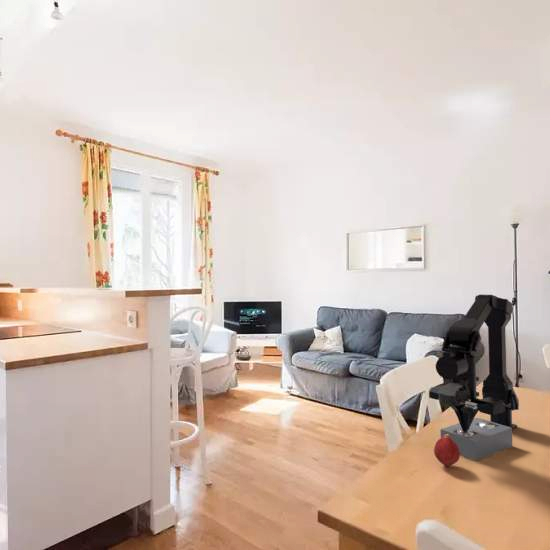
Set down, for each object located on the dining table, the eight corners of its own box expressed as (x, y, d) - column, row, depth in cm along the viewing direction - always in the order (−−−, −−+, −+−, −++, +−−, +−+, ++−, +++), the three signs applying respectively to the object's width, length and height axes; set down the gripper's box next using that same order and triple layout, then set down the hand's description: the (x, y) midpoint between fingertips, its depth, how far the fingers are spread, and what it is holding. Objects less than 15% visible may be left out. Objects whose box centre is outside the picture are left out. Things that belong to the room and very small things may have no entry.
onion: (433, 469, 97) (432, 436, 97) (435, 459, 102) (435, 428, 102) (459, 474, 94) (458, 440, 95) (460, 464, 100) (460, 431, 100)
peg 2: (484, 437, 115) (484, 420, 115) (498, 441, 112) (497, 424, 112) (476, 440, 113) (475, 423, 113) (490, 444, 110) (489, 427, 110)
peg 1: (463, 444, 110) (462, 427, 110) (477, 449, 106) (476, 432, 107) (454, 448, 108) (453, 430, 108) (468, 453, 104) (467, 435, 104)
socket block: (477, 434, 118) (477, 417, 118) (512, 446, 110) (511, 427, 110) (440, 447, 110) (440, 429, 110) (475, 461, 101) (475, 441, 101)
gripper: (415, 370, 111) (416, 426, 111) (479, 384, 95) (480, 450, 95) (440, 365, 117) (442, 419, 117) (505, 378, 101) (506, 440, 101)
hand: (465, 431), depth 107 cm, fingers closed, pressing on peg 1
